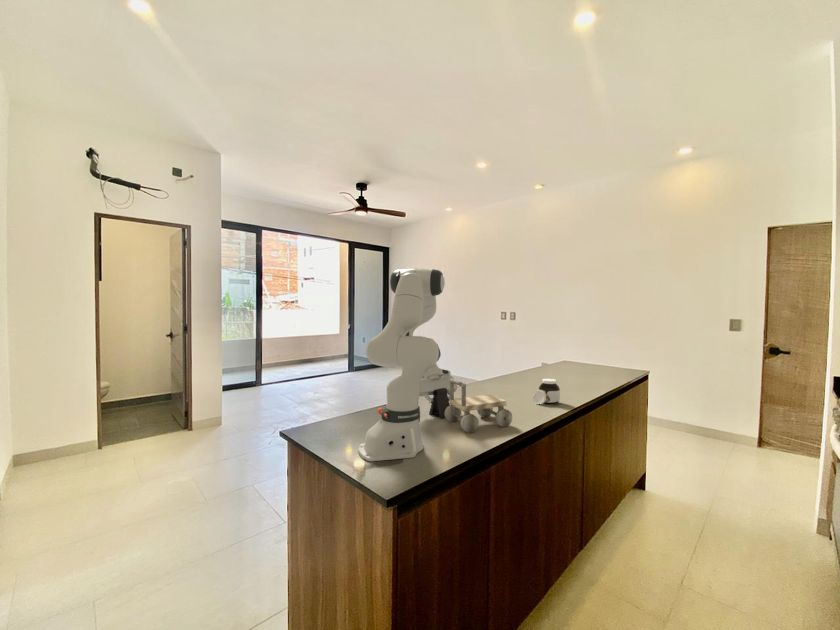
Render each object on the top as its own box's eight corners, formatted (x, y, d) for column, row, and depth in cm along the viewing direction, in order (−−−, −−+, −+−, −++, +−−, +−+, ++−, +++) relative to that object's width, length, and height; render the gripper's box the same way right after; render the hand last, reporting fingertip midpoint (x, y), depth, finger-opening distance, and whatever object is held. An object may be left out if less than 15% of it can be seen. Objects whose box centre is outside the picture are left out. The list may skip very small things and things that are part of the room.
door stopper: (452, 416, 160) (452, 389, 159) (442, 419, 156) (442, 391, 156) (438, 411, 167) (438, 386, 166) (429, 414, 163) (428, 388, 162)
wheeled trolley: (463, 434, 137) (462, 385, 137) (444, 421, 152) (444, 377, 152) (512, 425, 146) (512, 380, 146) (490, 415, 161) (490, 373, 160)
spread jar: (561, 402, 181) (561, 379, 181) (556, 407, 171) (556, 383, 171) (537, 399, 187) (537, 377, 187) (531, 404, 178) (531, 381, 177)
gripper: (413, 373, 163) (421, 400, 154) (452, 370, 171) (463, 395, 162) (409, 381, 167) (417, 407, 159) (448, 378, 175) (458, 402, 166)
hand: (441, 401), depth 160 cm, fingers open, 8 cm apart
